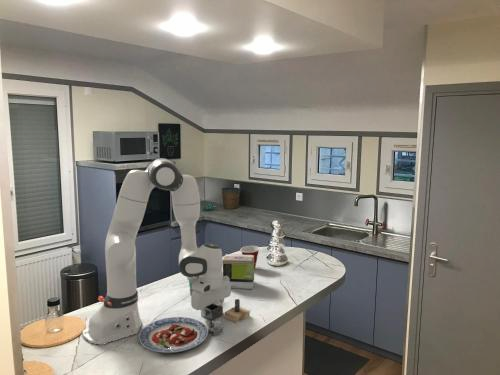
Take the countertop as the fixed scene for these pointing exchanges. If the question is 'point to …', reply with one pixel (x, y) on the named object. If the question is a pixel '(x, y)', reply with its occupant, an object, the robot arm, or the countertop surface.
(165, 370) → the countertop surface
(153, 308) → the countertop surface
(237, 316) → the keeper
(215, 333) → the silver knob on block
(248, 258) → the tea box
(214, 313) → the grey square ring
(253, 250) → the plastic cup
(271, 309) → the countertop surface
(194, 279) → the food container
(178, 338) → the ceramic plate
